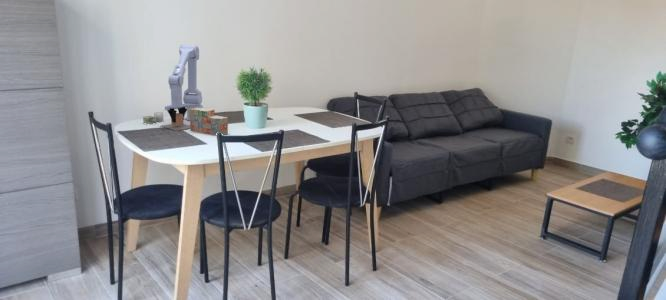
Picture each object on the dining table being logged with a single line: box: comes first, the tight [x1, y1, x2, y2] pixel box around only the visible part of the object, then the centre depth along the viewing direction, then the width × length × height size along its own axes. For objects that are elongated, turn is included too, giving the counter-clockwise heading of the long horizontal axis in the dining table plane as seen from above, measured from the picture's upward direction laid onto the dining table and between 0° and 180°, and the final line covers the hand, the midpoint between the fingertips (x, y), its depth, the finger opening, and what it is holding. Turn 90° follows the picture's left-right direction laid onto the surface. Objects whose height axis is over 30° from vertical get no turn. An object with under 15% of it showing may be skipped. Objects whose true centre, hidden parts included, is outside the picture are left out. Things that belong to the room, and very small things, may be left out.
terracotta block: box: [170, 112, 184, 126], centre depth 266 cm, size 4×4×6 cm
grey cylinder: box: [153, 111, 165, 123], centre depth 280 cm, size 5×5×5 cm
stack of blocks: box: [189, 107, 229, 136], centre depth 256 cm, size 21×6×12 cm, turn 61°
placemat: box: [160, 123, 190, 132], centre depth 267 cm, size 12×16×1 cm
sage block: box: [142, 115, 157, 125], centre depth 274 cm, size 5×5×4 cm
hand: (177, 121), depth 266 cm, fingers closed on terracotta block, 4 cm apart
